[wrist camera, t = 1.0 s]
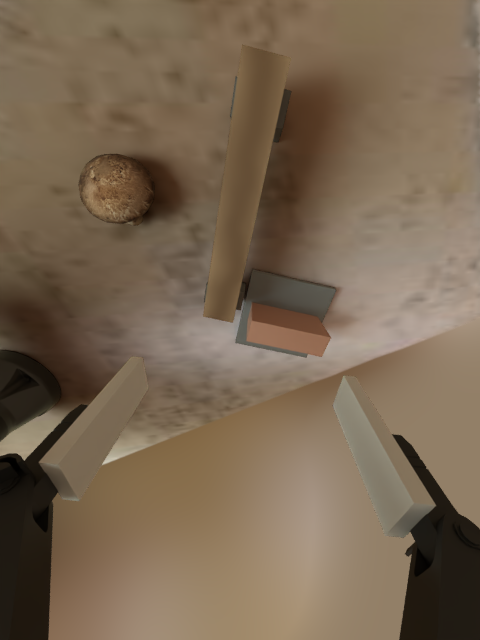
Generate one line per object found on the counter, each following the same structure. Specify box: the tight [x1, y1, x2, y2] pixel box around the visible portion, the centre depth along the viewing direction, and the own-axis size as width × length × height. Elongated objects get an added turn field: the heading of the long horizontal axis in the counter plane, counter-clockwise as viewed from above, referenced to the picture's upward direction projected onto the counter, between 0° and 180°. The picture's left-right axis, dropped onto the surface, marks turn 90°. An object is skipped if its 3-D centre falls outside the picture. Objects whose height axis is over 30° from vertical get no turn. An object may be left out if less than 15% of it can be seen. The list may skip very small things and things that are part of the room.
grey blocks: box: [204, 77, 291, 310], centre depth 25 cm, size 5×22×4 cm, turn 168°
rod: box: [203, 45, 291, 323], centre depth 21 cm, size 4×22×4 cm, turn 168°
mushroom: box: [79, 154, 155, 226], centre depth 24 cm, size 8×8×6 cm
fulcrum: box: [235, 269, 336, 358], centre depth 29 cm, size 12×12×7 cm
